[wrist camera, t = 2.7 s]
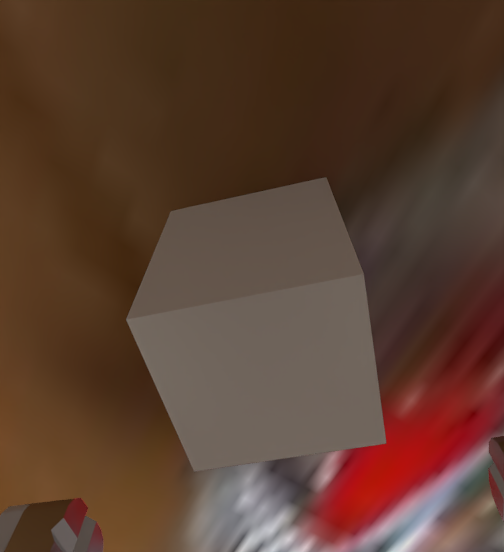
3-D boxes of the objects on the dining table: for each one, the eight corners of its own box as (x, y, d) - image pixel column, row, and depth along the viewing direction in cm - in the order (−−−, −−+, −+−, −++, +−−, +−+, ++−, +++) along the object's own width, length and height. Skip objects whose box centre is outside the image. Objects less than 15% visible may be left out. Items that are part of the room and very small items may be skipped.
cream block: (170, 210, 15) (125, 319, 10) (325, 176, 15) (363, 273, 9) (213, 332, 18) (194, 471, 12) (347, 308, 17) (386, 443, 12)
